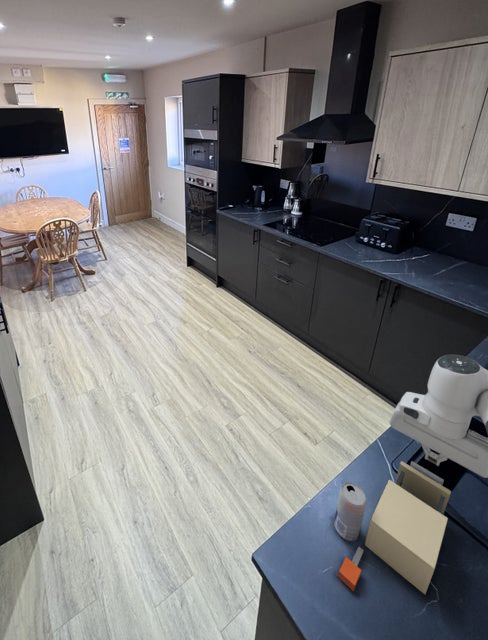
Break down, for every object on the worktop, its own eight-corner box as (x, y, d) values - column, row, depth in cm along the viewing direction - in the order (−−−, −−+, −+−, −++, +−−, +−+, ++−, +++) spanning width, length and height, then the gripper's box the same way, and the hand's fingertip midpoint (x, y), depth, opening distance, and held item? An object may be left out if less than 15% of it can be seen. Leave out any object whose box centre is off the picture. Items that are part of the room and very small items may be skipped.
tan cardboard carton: (383, 503, 82) (389, 479, 79) (439, 543, 74) (448, 518, 71) (364, 544, 73) (370, 519, 71) (425, 595, 65) (434, 568, 63)
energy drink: (351, 515, 79) (358, 480, 75) (363, 541, 74) (371, 505, 70) (329, 516, 79) (336, 481, 75) (340, 542, 74) (347, 506, 70)
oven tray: (401, 467, 89) (406, 449, 87) (448, 496, 82) (454, 477, 80) (382, 512, 79) (387, 493, 77) (433, 550, 72) (440, 529, 70)
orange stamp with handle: (353, 591, 66) (355, 585, 65) (337, 576, 68) (339, 571, 68) (368, 556, 71) (369, 551, 71) (353, 544, 74) (354, 538, 73)
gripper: (505, 437, 71) (489, 481, 75) (399, 388, 85) (391, 428, 90) (502, 456, 67) (485, 502, 71) (392, 401, 81) (383, 442, 86)
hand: (432, 460), depth 81 cm, fingers closed
